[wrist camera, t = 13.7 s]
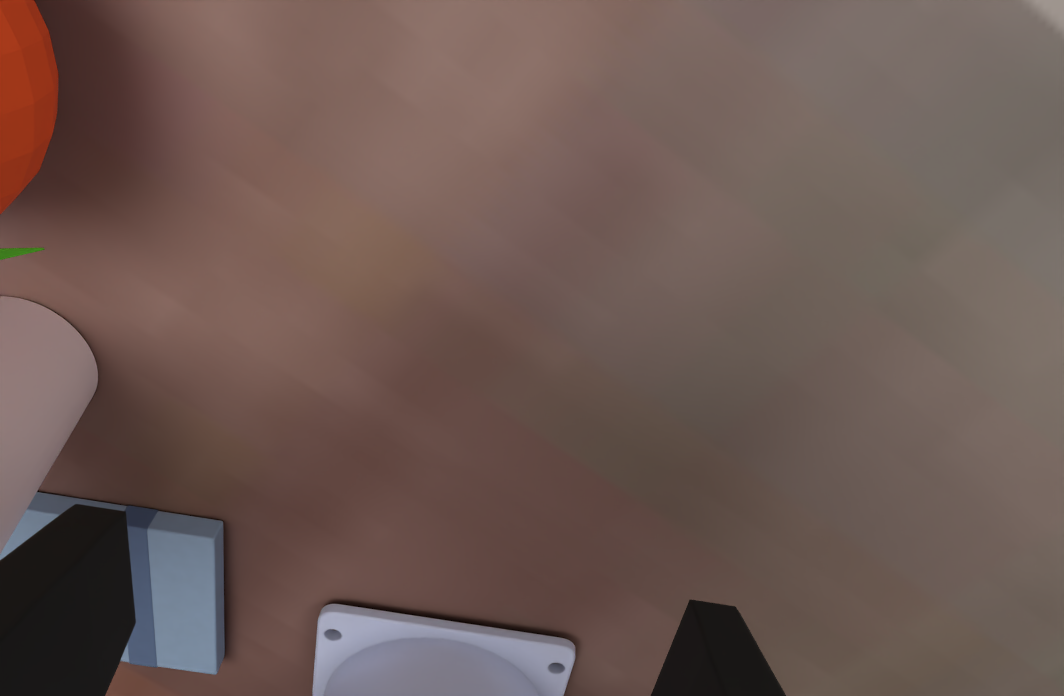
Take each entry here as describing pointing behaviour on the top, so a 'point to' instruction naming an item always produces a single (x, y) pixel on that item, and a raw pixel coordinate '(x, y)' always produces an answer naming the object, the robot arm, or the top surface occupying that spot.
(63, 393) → the smoothie
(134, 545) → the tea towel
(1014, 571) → the top surface
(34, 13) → the clementine
